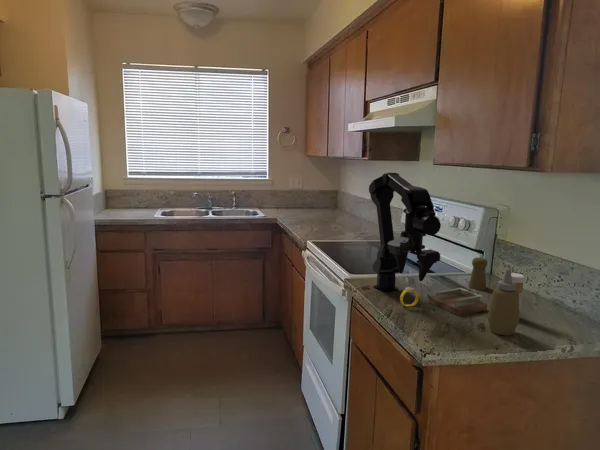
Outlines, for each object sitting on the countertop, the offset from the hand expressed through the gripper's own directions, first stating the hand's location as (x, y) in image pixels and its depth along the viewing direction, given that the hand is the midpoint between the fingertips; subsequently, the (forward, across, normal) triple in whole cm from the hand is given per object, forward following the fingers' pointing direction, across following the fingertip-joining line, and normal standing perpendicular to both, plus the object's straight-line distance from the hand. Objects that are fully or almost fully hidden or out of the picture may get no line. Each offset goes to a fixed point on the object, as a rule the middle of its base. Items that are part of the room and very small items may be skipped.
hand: (410, 276), depth 142 cm
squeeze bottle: (+10, +27, +10) cm, 31 cm away
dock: (+10, +7, +14) cm, 18 cm away
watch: (+10, 0, 0) cm, 10 cm away
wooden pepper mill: (+10, -4, +36) cm, 38 cm away
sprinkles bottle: (+10, +21, +22) cm, 32 cm away
